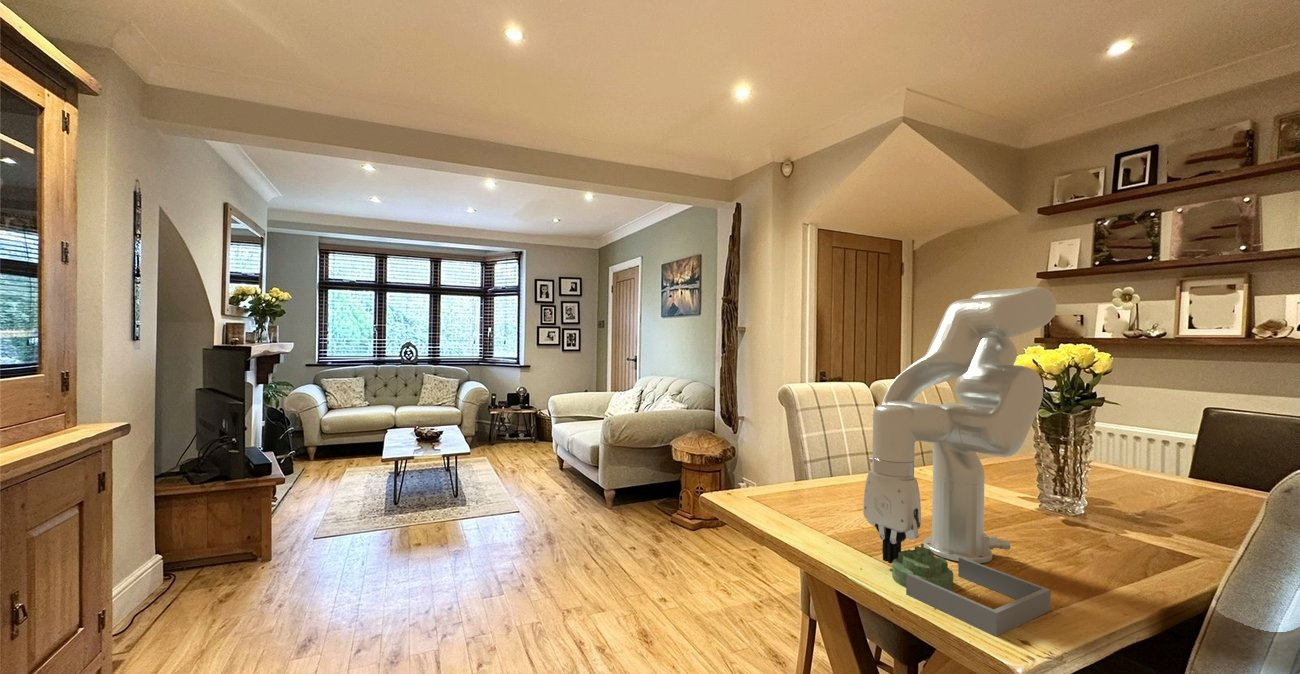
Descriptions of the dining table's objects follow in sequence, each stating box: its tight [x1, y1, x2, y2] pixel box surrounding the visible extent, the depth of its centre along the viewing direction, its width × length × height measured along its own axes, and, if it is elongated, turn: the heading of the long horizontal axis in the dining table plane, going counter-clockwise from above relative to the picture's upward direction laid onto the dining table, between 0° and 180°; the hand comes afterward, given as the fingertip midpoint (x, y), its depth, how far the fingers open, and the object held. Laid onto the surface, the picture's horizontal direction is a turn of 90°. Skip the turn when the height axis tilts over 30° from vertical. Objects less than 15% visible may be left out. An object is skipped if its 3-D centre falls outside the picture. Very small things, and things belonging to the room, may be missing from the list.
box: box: [905, 557, 1052, 637], centre depth 89 cm, size 15×17×4 cm
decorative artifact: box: [891, 543, 954, 592], centre depth 96 cm, size 10×7×10 cm
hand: (891, 560), depth 102 cm, fingers closed
